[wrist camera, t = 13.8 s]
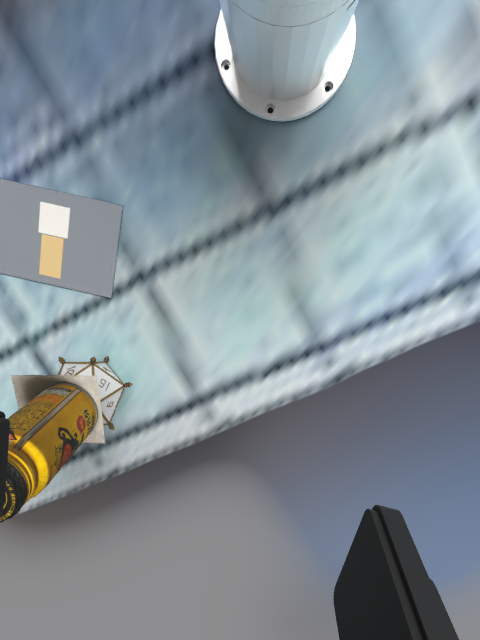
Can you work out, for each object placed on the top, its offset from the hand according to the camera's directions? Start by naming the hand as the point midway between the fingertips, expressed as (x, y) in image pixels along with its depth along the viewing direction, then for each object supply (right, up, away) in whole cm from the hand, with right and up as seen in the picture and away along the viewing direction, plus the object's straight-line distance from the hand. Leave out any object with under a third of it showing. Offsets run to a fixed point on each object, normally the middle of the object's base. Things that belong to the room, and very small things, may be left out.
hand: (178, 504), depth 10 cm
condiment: (-16, -4, +29) cm, 33 cm away
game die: (-15, -2, +36) cm, 39 cm away
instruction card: (-18, +13, +32) cm, 39 cm away
